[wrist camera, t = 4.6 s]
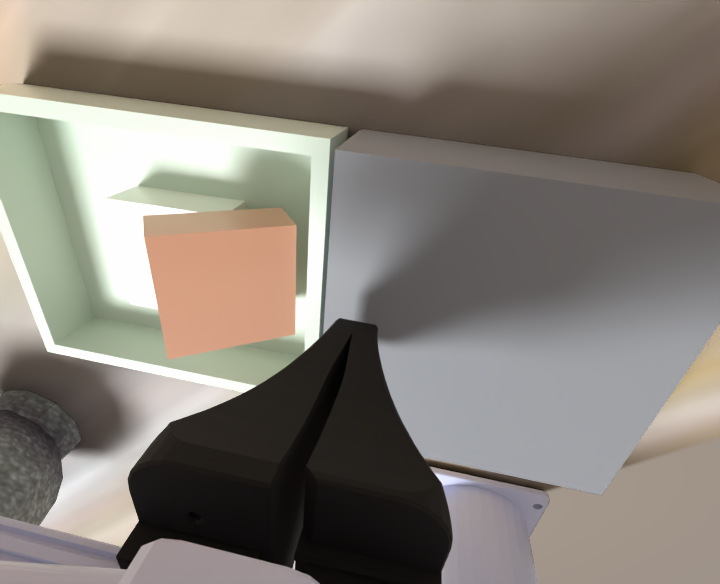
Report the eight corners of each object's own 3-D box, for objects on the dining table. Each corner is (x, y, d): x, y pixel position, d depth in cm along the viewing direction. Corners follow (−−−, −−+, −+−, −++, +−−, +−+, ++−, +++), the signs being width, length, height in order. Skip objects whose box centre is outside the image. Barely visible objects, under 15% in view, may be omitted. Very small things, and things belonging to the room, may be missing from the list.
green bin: (329, 365, 21) (314, 406, 19) (92, 319, 23) (47, 351, 20) (348, 127, 15) (330, 139, 12) (21, 83, 16) (-56, 86, 14)
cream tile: (130, 304, 18) (157, 283, 20) (233, 322, 18) (251, 299, 19) (104, 198, 16) (137, 185, 17) (223, 215, 15) (245, 200, 17)
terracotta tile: (167, 359, 15) (164, 330, 16) (295, 334, 17) (282, 310, 19) (143, 237, 12) (143, 215, 14) (296, 225, 14) (281, 207, 16)
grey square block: (570, 412, 20) (601, 495, 16) (338, 367, 21) (316, 434, 17) (696, 173, 14) (795, 213, 10) (361, 128, 15) (334, 149, 11)
